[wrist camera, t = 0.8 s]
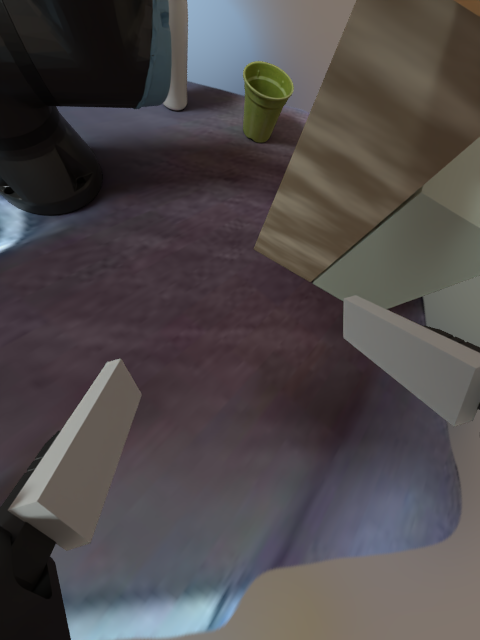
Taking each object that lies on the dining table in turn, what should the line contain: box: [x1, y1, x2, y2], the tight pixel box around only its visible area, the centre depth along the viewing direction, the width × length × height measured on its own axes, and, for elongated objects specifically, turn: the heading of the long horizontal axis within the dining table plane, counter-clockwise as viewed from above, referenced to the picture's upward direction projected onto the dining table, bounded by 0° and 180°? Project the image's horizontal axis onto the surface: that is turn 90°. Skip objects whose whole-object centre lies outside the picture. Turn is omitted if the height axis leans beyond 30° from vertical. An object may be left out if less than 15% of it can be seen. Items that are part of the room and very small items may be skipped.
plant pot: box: [243, 61, 294, 142], centre depth 42 cm, size 9×9×9 cm
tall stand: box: [254, 0, 480, 282], centre depth 27 cm, size 16×12×30 cm
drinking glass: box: [163, 0, 188, 110], centre depth 37 cm, size 7×7×15 cm
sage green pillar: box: [313, 137, 480, 309], centre depth 32 cm, size 16×12×20 cm
